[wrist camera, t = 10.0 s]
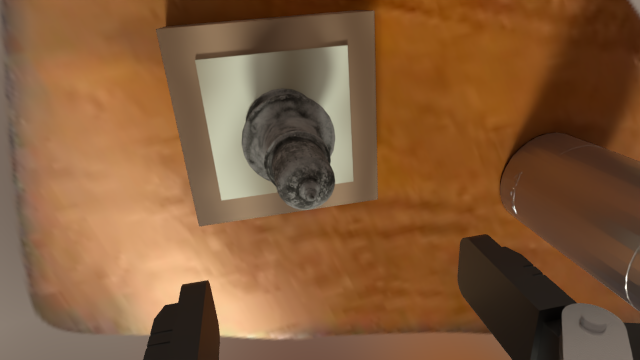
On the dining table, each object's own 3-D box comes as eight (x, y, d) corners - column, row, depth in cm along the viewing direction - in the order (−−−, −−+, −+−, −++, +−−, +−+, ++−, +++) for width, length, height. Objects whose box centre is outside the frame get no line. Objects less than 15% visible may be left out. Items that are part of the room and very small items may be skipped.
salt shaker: (237, 85, 27) (239, 137, 16) (324, 82, 28) (380, 130, 17) (243, 168, 29) (248, 262, 19) (323, 162, 30) (373, 249, 20)
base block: (358, 10, 31) (375, 10, 27) (363, 180, 36) (378, 200, 33) (165, 26, 29) (154, 29, 25) (203, 203, 35) (198, 228, 31)
